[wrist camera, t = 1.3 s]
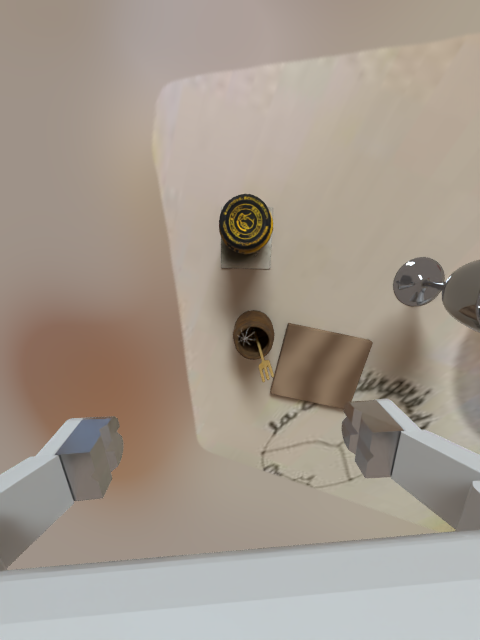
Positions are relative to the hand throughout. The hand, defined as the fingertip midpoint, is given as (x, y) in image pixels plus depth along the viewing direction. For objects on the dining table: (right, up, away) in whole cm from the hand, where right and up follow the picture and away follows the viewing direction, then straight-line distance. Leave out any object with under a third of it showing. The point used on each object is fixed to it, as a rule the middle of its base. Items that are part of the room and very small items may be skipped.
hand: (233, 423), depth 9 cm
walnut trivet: (+13, -4, +32) cm, 34 cm away
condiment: (+1, +16, +28) cm, 32 cm away
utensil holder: (+2, +3, +31) cm, 31 cm away
